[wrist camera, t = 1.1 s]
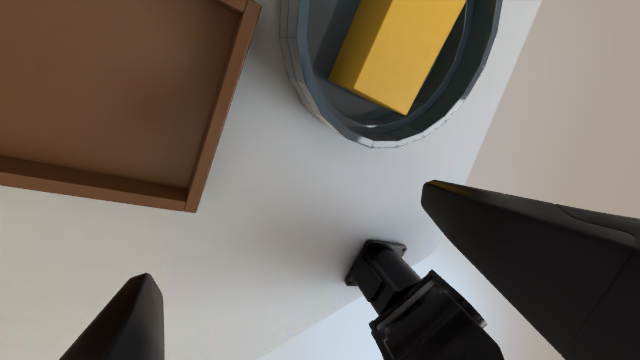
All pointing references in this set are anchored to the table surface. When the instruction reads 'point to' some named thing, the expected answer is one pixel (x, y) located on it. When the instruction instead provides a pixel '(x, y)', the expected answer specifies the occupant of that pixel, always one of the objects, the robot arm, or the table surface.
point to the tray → (118, 95)
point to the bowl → (360, 114)
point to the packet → (393, 49)
